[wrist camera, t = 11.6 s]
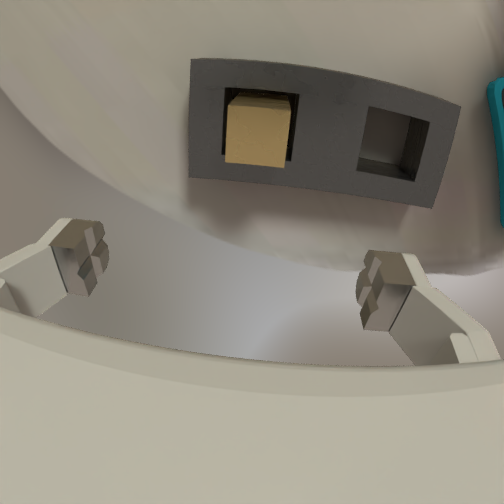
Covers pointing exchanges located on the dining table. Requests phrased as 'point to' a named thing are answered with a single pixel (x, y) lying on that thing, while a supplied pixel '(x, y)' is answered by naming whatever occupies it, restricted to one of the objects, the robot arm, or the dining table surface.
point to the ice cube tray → (498, 131)
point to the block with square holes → (322, 130)
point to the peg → (258, 129)
